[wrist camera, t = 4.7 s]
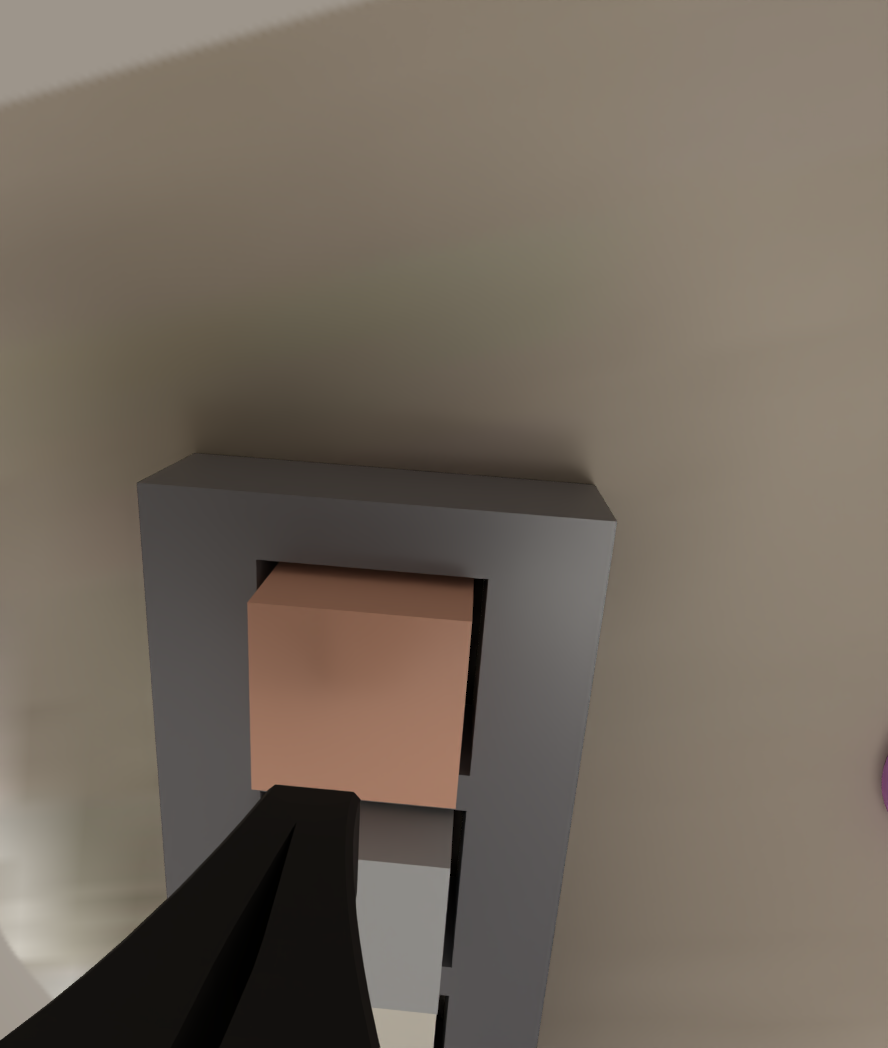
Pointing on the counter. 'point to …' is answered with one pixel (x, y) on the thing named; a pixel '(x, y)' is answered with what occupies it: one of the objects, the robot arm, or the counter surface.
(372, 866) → the grey key
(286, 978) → the robot arm
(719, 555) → the counter surface
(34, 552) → the counter surface
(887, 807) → the bracket
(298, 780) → the terracotta key
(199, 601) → the grey slotted base
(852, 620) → the counter surface
